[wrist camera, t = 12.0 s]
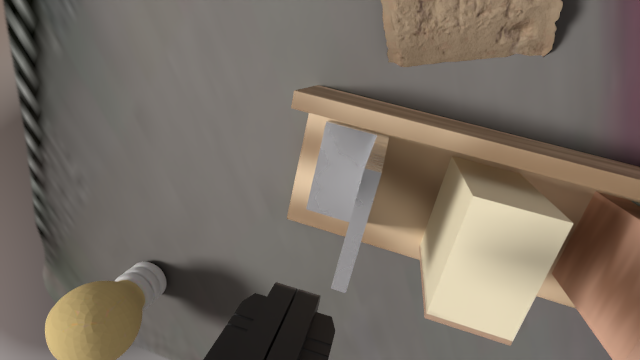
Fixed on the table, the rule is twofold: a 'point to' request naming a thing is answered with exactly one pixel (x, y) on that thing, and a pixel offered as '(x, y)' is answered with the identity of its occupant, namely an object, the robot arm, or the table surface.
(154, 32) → the table surface
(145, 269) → the light bulb
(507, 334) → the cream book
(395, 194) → the rack
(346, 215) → the bookend
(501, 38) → the clay tablet
